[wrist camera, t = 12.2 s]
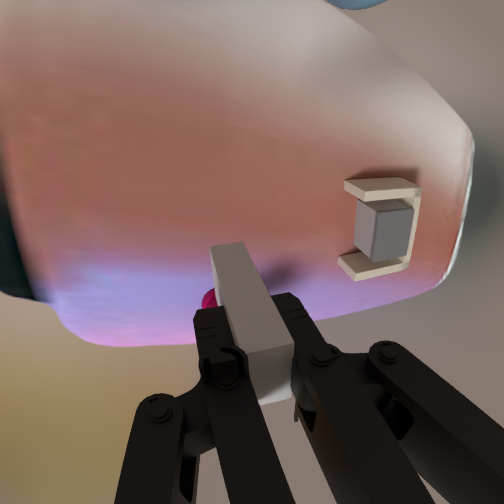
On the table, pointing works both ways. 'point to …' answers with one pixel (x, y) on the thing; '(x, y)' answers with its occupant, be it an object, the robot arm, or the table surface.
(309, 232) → the table surface
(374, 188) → the bay
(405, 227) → the rounded grey cube
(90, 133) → the table surface
